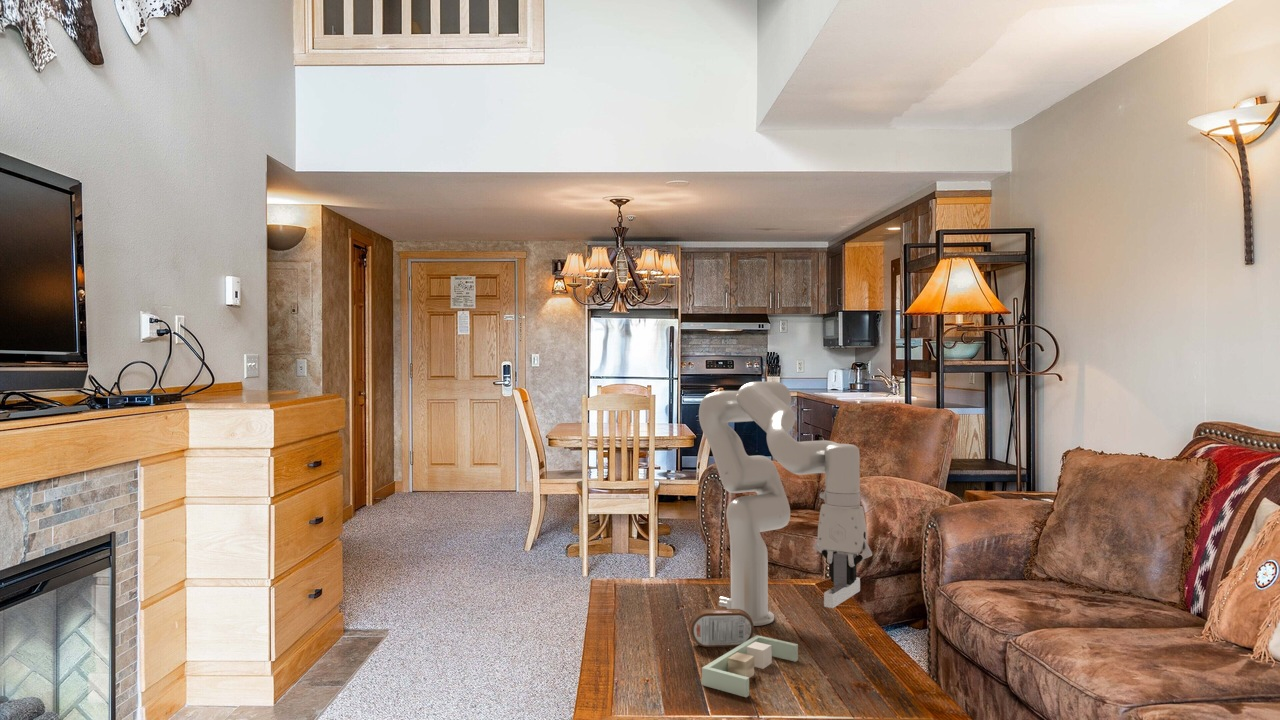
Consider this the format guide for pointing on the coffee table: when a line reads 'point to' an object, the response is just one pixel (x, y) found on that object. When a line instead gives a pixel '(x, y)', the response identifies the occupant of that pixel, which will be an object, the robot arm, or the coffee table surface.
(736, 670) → the maple block
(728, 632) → the tin
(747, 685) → the block corral
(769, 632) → the coffee table surface
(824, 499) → the robot arm
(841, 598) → the slider lever
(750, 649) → the cream block
